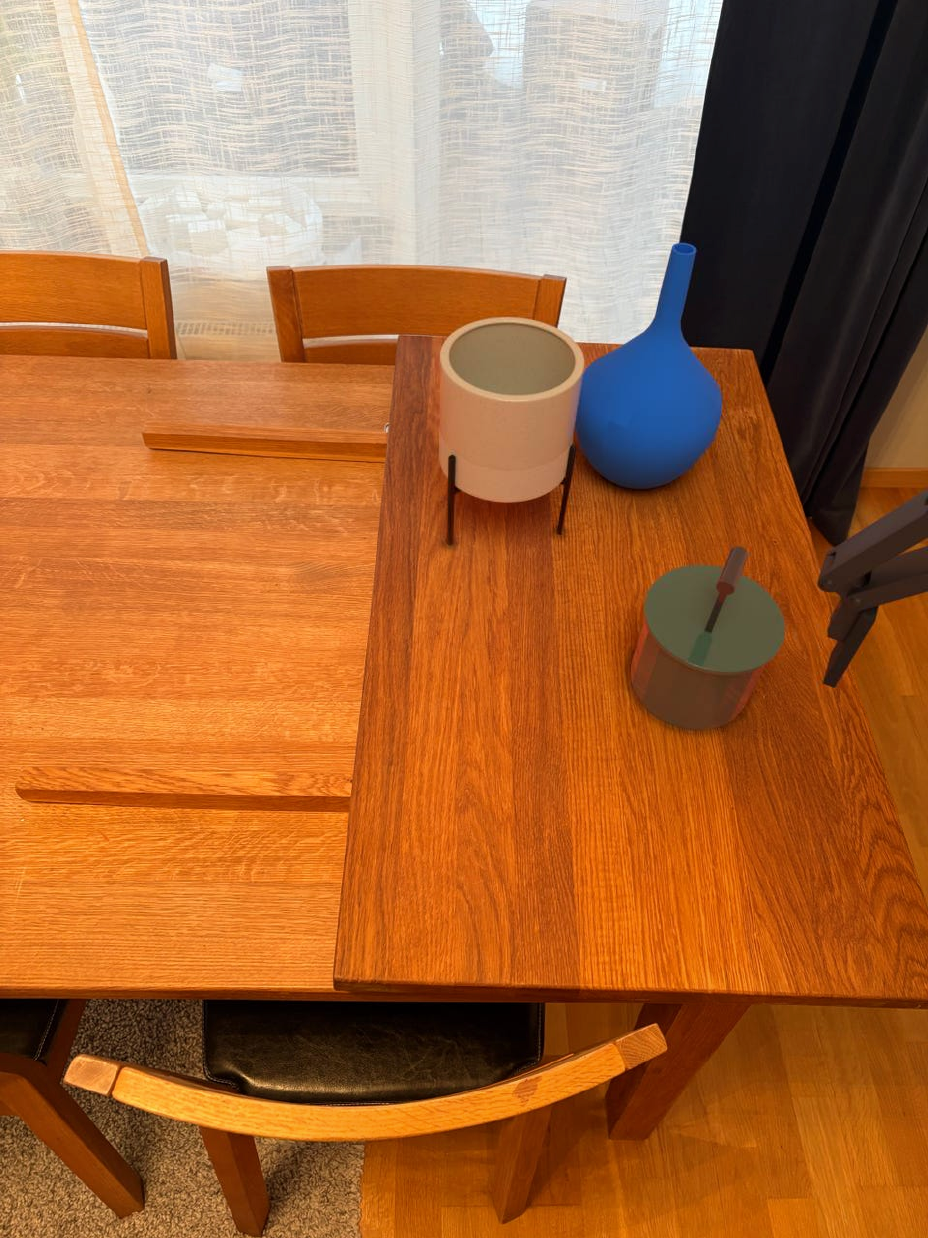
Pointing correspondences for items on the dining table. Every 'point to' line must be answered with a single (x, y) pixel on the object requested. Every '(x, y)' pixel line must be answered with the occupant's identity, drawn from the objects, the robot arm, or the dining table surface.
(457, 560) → the dining table surface
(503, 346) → the planter
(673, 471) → the vase
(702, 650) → the lid
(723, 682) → the cylinder
